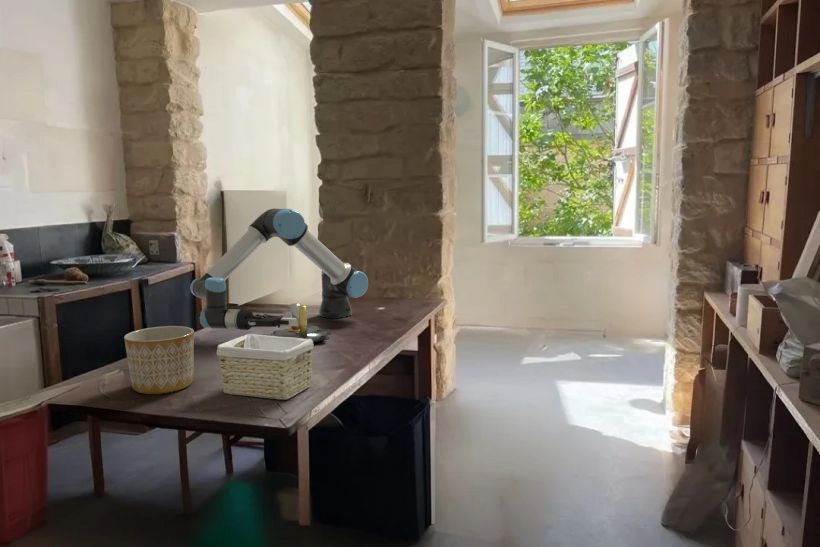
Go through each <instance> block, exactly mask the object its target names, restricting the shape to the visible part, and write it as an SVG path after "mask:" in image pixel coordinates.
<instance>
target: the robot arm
mask: <svg viewBox="0 0 820 547" xmlns="http://www.w3.org/2000/svg"><path fill="white" fill-rule="evenodd" d="M305 221H306V220H305V218H304V217H303V215H302V214H301V212H298V211H296V210H295V209H292V208H270V209H267V210H266V211H264V212H263V213H261V214H260V215H259V216H258V217H257V218H256V219H254V220H253V221H252V222H251V223H250V225H248V227H247V231H245V233H244V234H243V235H242V236H241V237H240V238H239V239H238V241H236V242H235V243H234V244H233V245H232V246H231V247H230V248H229V249H228V250H227V251H226V252H225V253H223V255H222V257H220V258H219V259H218V260H217V262H215V263H214V264H213V266H211V267H210V268H209V270H207V271H206V272H205V273H204V274H203V275H202V276H201V277H200V278H195V279H194V280H192V282H191V283H190V285H189V289H190V292H191V294H192V295H193V296H195V297H197V298H199V299H203V300H205V304H206V305H205V306H206V307H205V308H202V310H201V311H200V313H199V314H200V316H199V323H200V325H201V326H202V327H204V328H209V329H223V330H225V329H228V330H231V329H232V331H235V330H239V331H240V330H244V331H248V330H249V331H250V329H252V328H258V327H259V328H260V327H261V328H263V327H264V328H266V327H271V328H272V327H277V328H281V326H282V327H283V326H284V327H291V326H299V322H298V319H297V318H291V317H284V315H271V314H267V313H264V314H263V315H262V314H255V315H254V314H253V312H252V311H251V310H250V309H237V308H236V309H235V308H233V309H232V308H229V309H228V307H227V306H228V305H227V283H226V280H227V279H228V278H229V277H230V276H232V274H233V273H234V272H235V271H236V270H237V269H238V268H239V267H240V266H241V265H242V264H243V263H244V262H245V261H246V260H247V259H248V258H249V257H250V256H251V255H252V254H253V253H254V252H255V251H256V250H257V249H258V247H260V246H261V245H262V244H266V243H267V242H268V241H269V240H270V239H273V238H279V239H280V240H281V241H282V242H283V243H285V244H286V245H287V246H289V247H295V248H296V249H297V250H298V251H299V252H301V253H302V254H303V256H305V257H307V259H309V261H311V262H312V263H313V264H314V266H316V267H317V268H319V269H320V270H321V274H320V275H321V276H320V277H321V289H322V290H321V293H322V294H321V295H322V300H321V303H320V307H319V311H318V316H319V317H320V316H321V318H324V317H326V318H327V319H340V318H341V317H342V318H346V316H348V317H350V315H351V316H352V315H353V310H352V307H351V304H350V300H349V298H348V297H350V298H356V299H357V298H360V297H362V296H363V295H364V294H366V292H367V290H368V287H369V279H368V276H367V275H366V273H364V272H363V271H360V270H357V269H356V268H355V267H353V266H352V264H350V263H348V262H343V261H342V260H341V259H340V258H339V257H337V256H336V255H335V254H334V253H333V252H332V251H331V250H330V248H329V249H328V247H327V246H325V245H324V244H323V243H322V242H321V241H320V240H319V239H318V238H317V237H315V235H314V234H312V233H311V231H309V225H308V224H307V223H306V222H305ZM342 318H341V319H342Z"/></svg>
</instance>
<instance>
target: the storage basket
mask: <svg viewBox="0 0 820 547" xmlns="http://www.w3.org/2000/svg"><path fill="white" fill-rule="evenodd" d="M314 347H315V346H314V342H313V341H312V339H302V338H291V337H276V336H270V335H264V334H254V333H247V334H245V335H242V336H239V337H236V338H233V339H231V340H229V341H226V342H223V343H220V344H217V348H216V349H217V350H216V355H217V356H218V358H219V360H218V361H219V368H220V369H219V373H220V374H221V377H220V378H221V382H222V383H221V386H222V390H223V393H224V394H228V395H232V396H233V395H237V396H243V397H253V398H255V397H256V398H262V399H272V400H275V399H276V400H281V401H282V400H283V401H284V400H285V401H286V400H289V399H291V398H293V397H295V396H296V395H299V394H300V393H302V392H303V391H306V390H307V389H308V388H309V387H310V386H311V382H312V381H311V378H312V356H313V349H314Z"/></svg>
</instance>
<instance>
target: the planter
mask: <svg viewBox="0 0 820 547" xmlns="http://www.w3.org/2000/svg"><path fill="white" fill-rule="evenodd" d="M194 333H195V330H194V329H193V328H191V327H189V326H181V325H179V326H178V325H166V326H165V325H164V326H154V327H147V328H143V329H142V328H141V329H138V330H134V331H131V332H128V333H126V334H125V335H124V337H123V340H124V344H125V351H126V357H127V364H128V370H129V376H130V382H131V383H130V384H131V387H132V389H133V390H134V391H135V392H137V393H139V394H144V395H163V393H164V394H169V392H170V393H174V391H175V392H179V391H181V390H183V389H185V388H187V387H189V386H190V385H191V384H192V382H193V381H194V356H195V355H194V351H195V350H194V348H195V347H194V345H195V344H194V343H195V341H194V340H195V334H194Z"/></svg>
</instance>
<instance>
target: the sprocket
mask: <svg viewBox="0 0 820 547" xmlns="http://www.w3.org/2000/svg"><path fill="white" fill-rule="evenodd" d="M307 308H308V307H307V305H305V304H302V305H300V306H298V311H299V330H292V329H291V327H289V328H284V329H276V330H274V331H272V332H273V334H271V335H269V336H276V337H291V338H302V339H312V341H313V343H316V342H319V341H327V340H329V339H330V335H332V333H331V330H330V328H327V329H325V328H322V327H319V326H317V325H316V326H315V325H313V326H308V310H307Z"/></svg>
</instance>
